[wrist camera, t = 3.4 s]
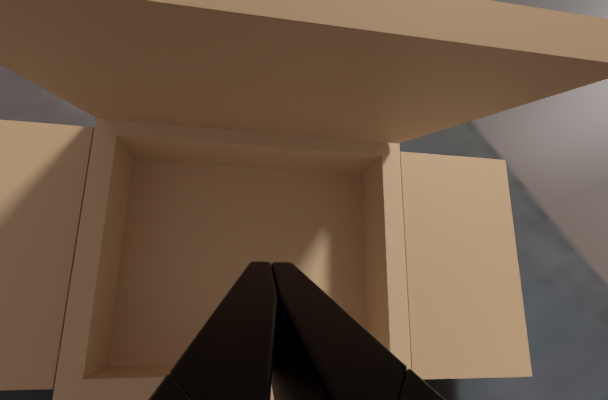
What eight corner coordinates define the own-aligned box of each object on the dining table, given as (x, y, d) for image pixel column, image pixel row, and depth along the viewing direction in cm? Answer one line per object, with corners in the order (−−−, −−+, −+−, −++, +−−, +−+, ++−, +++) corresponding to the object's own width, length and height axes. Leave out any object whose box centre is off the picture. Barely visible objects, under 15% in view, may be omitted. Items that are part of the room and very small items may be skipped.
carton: (503, 534, 16) (561, 582, 14) (-114, 597, 13) (-215, 684, 10) (467, 169, 21) (506, 148, 18) (-10, 134, 17) (-60, 100, 14)
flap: (398, 143, 16) (643, 66, 7) (98, 118, 14) (-202, -47, 5) (398, 126, 16) (646, 24, 6) (99, 99, 14) (-198, -109, 5)
